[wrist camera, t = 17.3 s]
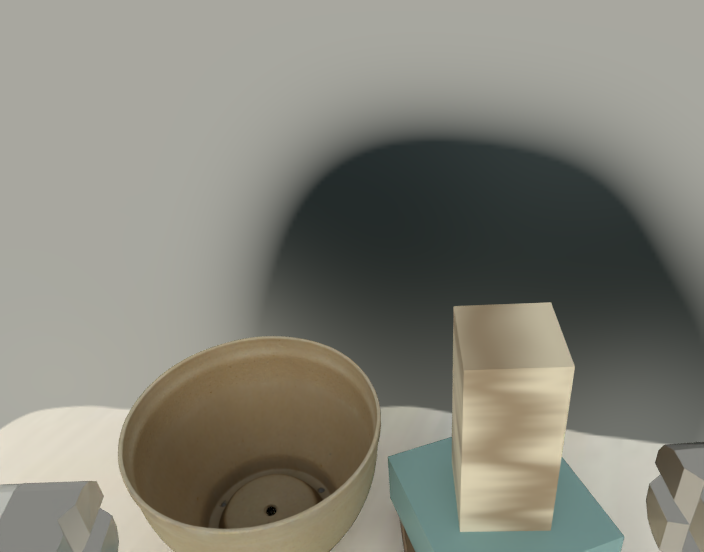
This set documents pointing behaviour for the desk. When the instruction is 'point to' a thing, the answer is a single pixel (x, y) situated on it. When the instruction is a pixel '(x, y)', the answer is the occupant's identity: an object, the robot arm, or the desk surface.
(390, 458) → the teal top block
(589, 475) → the desk surface
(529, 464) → the ash pillar block
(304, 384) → the planter bowl
